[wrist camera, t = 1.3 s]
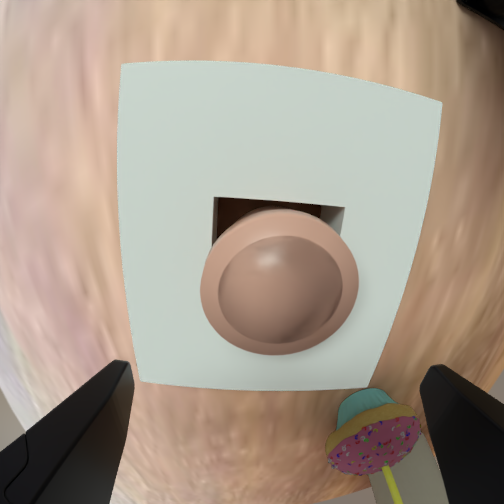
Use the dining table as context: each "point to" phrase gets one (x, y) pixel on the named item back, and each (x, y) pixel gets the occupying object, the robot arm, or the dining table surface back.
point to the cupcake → (372, 436)
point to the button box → (264, 188)
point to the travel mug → (413, 478)
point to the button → (278, 282)
